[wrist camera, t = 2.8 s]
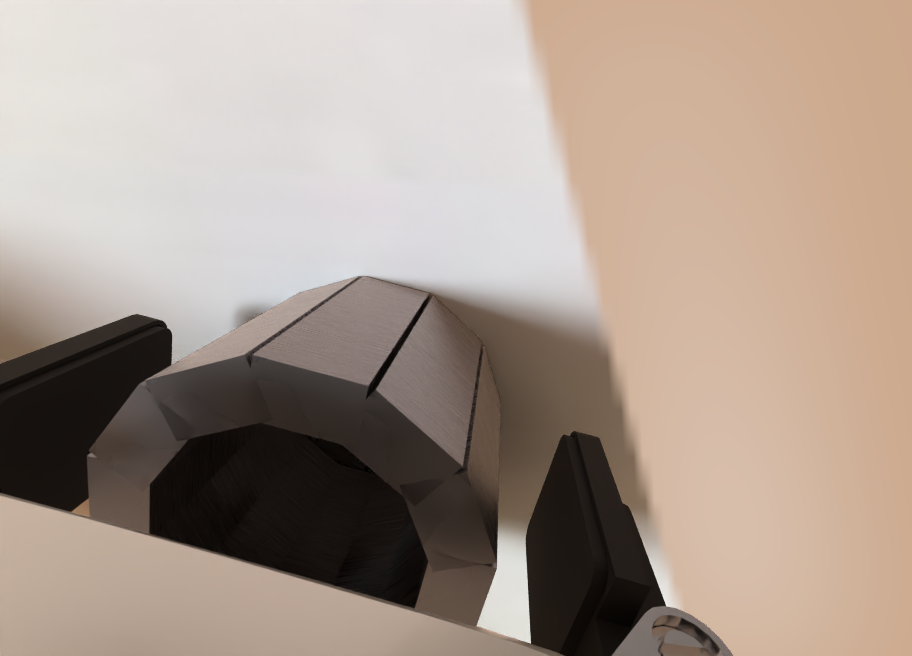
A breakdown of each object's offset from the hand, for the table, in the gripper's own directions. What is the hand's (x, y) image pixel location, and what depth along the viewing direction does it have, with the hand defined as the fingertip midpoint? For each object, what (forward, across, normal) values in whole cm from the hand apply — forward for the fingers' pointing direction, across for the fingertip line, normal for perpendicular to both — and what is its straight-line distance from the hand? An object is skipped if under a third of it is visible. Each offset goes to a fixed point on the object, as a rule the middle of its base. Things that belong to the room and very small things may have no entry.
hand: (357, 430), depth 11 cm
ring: (+1, 0, 0) cm, 1 cm away
